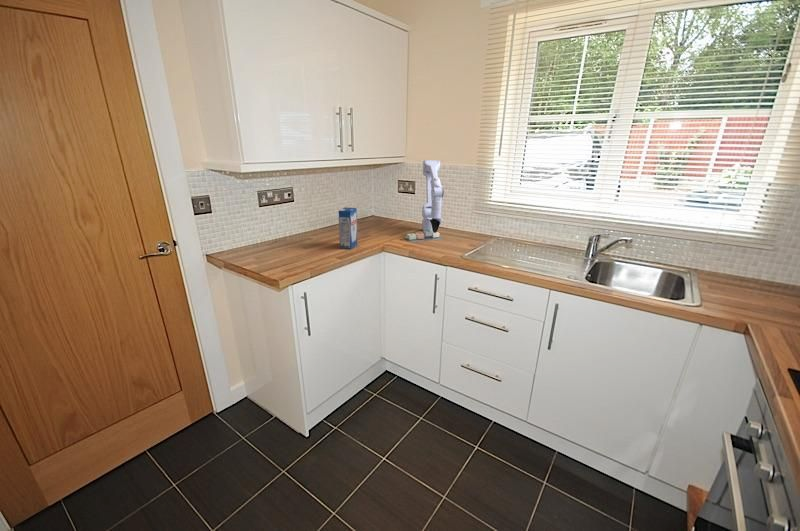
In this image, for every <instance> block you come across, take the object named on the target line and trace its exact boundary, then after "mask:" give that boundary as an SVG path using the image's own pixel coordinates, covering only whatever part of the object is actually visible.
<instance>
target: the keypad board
mask: <svg viewBox="0 0 800 531" xmlns="http://www.w3.org/2000/svg"><path fill="white" fill-rule="evenodd" d="M403 238H404V239H406V240H407V241H409V242H411V243H420V242H431V241H441V240H444V238H442V237H440V236H439V237H435V238H433V237H431V236H425V235H424V239H417V238H416V239H413V240H409V239H408V238H407V236H403Z"/></svg>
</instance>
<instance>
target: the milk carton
mask: <svg viewBox="0 0 800 531" xmlns="http://www.w3.org/2000/svg"><path fill="white" fill-rule="evenodd" d="M357 210H358V209H357V207H344V208H341V209H338V228H339V229H338V232H339V249H342V250H352V249H353V247H354V248H355V247H356V246H357V245H358V221H357V220H358V218H357V217H358V215H357V214H358V213H357Z"/></svg>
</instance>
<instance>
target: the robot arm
mask: <svg viewBox="0 0 800 531" xmlns="http://www.w3.org/2000/svg"><path fill="white" fill-rule="evenodd" d="M440 169H441V161H440V160H435V159H434V160H428V159H424V160H423V161H422V174H423V176H425V180H426V203H425V204H423V206H422V211H421V216H422V218H423V219H422V221H421V230H422V231H423V230H430V231H432V232H438V231H439V227H440V224H441V223H444V218H443V217H442V207H443V206H442V205H443V197H444V195H445V192H444V187H443V185H442V182H441V179H440V178H439V177H438V176H439V175H438V174H439V171H440Z"/></svg>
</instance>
